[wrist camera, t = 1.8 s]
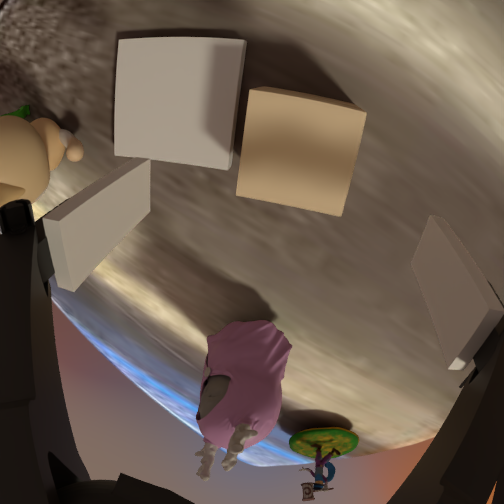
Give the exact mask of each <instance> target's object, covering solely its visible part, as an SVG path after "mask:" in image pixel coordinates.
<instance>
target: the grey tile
mask: <svg viewBox="0 0 504 504" xmlns="http://www.w3.org/2000/svg"><path fill="white" fill-rule="evenodd" d="M246 46H247V41H245V40H240V39H227V38H208V37H153V38H135V39H122V40H119V45H118V56H117V70H116V87H115V121H114V146H115V155H116V156H126V157H141V158H149V159H152V160H160V161H168V162H176V163H183V164H190V165H197V166H204V167H210V168H217V169H223V170H228V169H229V168H230V167H231V165H232V156H233V147H234V139H235V131H236V122H237V114H238V106H239V98H240V91H241V83H242V75H243V68H244V61H245V53H246Z"/></svg>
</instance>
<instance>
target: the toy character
mask: <svg viewBox="0 0 504 504" xmlns="http://www.w3.org/2000/svg"><path fill="white" fill-rule="evenodd" d="M207 343H208V354H207V356H206V360H205V365H204V370H203V379H202V383H201V391H200V405H199V408H198V412H197V415H196V420H197V423H198V425H199V428H200V431H201V433H202V435H203V436H204V439H203V440H204V442H205V445H204V448H203V449H202V450H201V451H198V452H196V453H195V455H196V456H204V457H203V458H202V460H201V463H202V466H201V467H200V468H199V469H198V472H197V473H196V474H197V475H198V476H200V477H201V479H203V480H204V481H207V480H209V478H210V469H211V467H212V465H213V463H214V455H215V453H216V450H217V449H219V448H221V447H223V448H226V449H227V455H226V456H225V458H224V460H223V461H222V466H223V468H224V470H225V471H229V470H231V469H232V468H233V467H234V466H235V464H236V463H237V458H236V457H237V455H238V454H239V453H242V452H243V450H244V449H245V448H248V447H250V446H252V445H254V444H256V443H258V442H260V441H261V440H263V439H264V438H265V437H266V436H267V435H268V434H269V433H270V432H271V431H272V429H273V428H274V426H275V424H276V422H277V420H278V417H279V413H280V409H281V403H282V389H281V380H282V379H283V378H284V372H285V366H286V363H287V359H288V355H289V352H290V350H291V348H292V345H291V344H290V343H289V341H288V340H287V338H286V337H285V336H284V333H283V332H282V331H280V330H278V329H277V328H276V326H275V325H274V324H273V323H272V322H269V321H266V320H257V321H248V322H241V321H235V322H232V323H229V324H228V325H226V326H225V327H224V328H223V329H222V330H221V331H220V332H219V333H217V334H215V335H210V336H208V337H207Z"/></svg>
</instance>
